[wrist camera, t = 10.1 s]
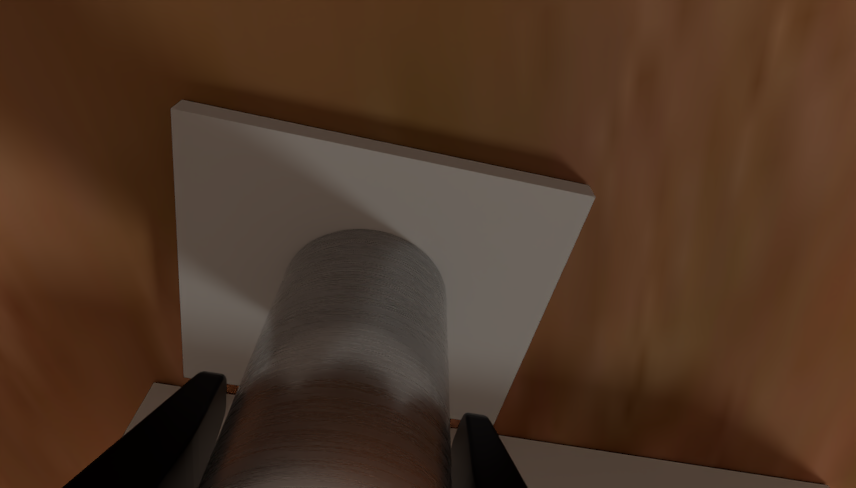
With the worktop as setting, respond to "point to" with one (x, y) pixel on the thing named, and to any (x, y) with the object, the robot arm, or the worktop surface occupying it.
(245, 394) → the shiny gray metallic cylinder
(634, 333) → the worktop surface
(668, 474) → the switch panel
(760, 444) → the worktop surface
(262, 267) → the rubber mat
